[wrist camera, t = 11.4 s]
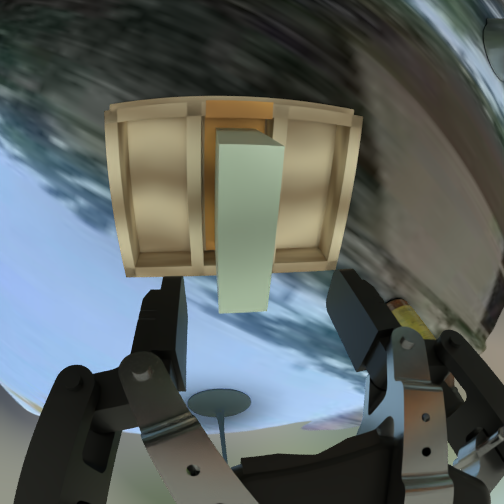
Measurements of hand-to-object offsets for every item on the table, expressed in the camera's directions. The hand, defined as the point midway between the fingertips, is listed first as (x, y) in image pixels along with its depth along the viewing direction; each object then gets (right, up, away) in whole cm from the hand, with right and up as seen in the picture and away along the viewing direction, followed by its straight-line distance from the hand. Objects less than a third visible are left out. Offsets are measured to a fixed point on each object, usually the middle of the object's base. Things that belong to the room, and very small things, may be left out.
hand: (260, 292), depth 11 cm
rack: (-2, +7, +12) cm, 14 cm away
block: (-2, +7, +11) cm, 13 cm away
